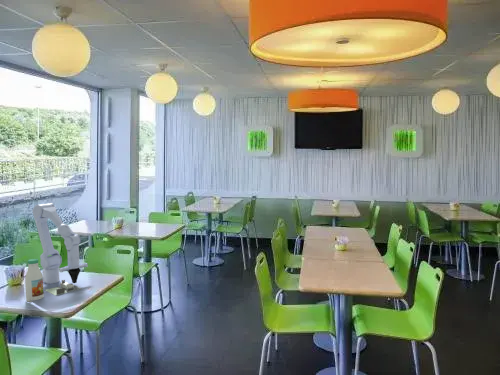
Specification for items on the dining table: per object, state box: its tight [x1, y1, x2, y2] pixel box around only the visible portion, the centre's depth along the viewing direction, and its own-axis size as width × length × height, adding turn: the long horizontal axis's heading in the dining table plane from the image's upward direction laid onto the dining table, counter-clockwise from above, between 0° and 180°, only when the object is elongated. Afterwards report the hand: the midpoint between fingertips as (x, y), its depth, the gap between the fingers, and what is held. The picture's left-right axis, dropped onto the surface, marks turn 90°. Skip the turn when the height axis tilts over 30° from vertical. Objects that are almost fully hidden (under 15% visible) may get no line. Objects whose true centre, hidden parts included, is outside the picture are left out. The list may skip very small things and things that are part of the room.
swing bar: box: [60, 279, 74, 290], centre depth 225 cm, size 10×3×3 cm, turn 47°
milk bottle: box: [24, 258, 45, 303], centre depth 210 cm, size 8×8×20 cm
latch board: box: [44, 284, 83, 296], centre depth 224 cm, size 13×14×4 cm
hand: (74, 282), depth 231 cm, fingers closed
